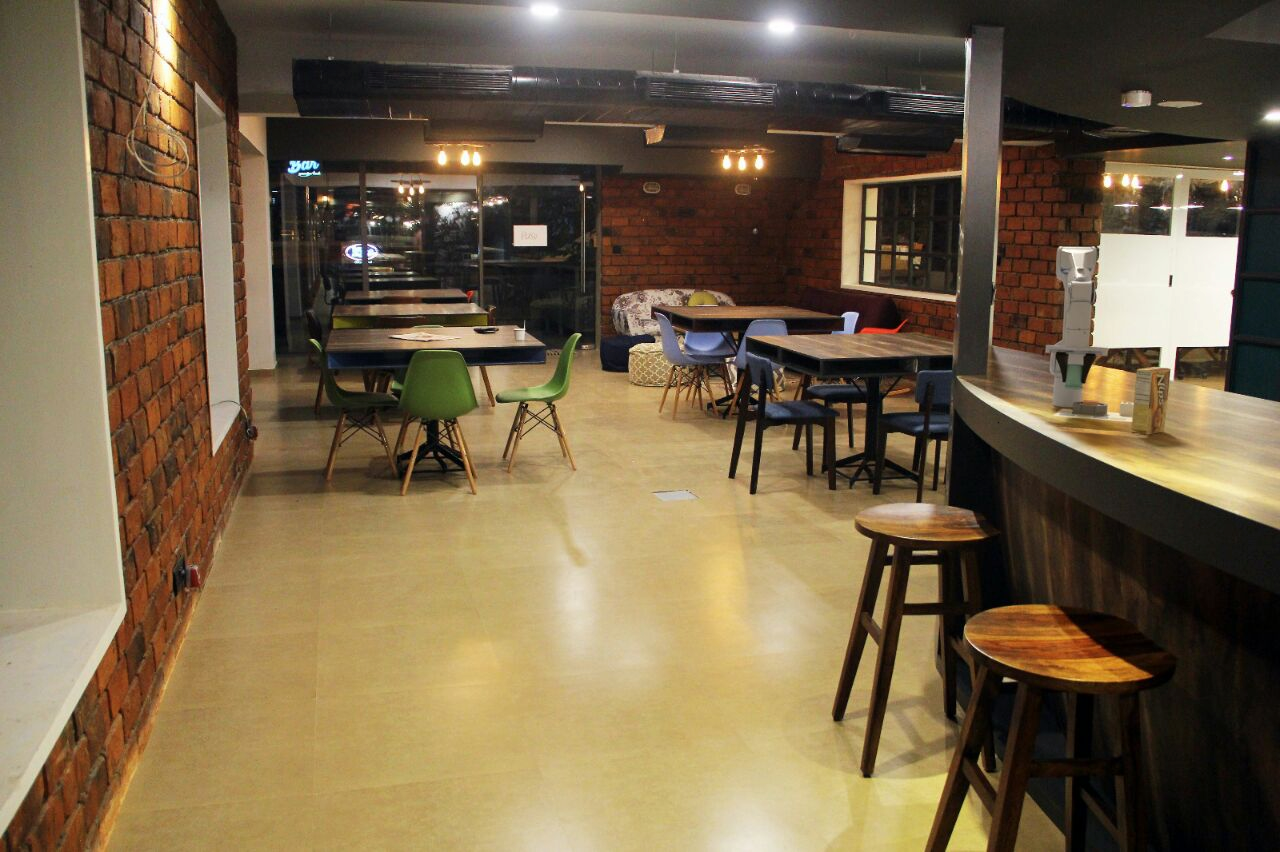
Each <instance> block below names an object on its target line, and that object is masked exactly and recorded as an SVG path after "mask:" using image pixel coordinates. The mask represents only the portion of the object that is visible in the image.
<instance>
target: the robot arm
mask: <svg viewBox="0 0 1280 852" xmlns="http://www.w3.org/2000/svg"><path fill="white" fill-rule="evenodd" d="M1097 253H1098V252H1097V247H1096V246H1093V245H1092V246H1062V245H1061V246H1058V248H1057V251H1056V257H1055V259H1056V260H1055V261H1056V263H1055V264H1056V265H1055V267H1056V268H1055V275H1056V279H1058V280H1059V281H1061V282H1062V284H1063V288H1064V300H1063V302H1064V303H1063V323H1062V324H1063V325H1062V339H1061V340H1060V341H1058V342H1057V343H1055V344H1046V345H1045V354H1050V359H1049V373H1050V374H1051V375H1053V377H1054V379H1053V389H1052V390H1053V392H1052V393H1053V394H1052V406H1055V407H1060V408H1073V403H1074V402H1082V397H1083V396H1082V394H1083V389H1080V390H1074V389H1065V388H1064V386H1065V382H1066V368H1067V364H1078V365H1083V375H1082V385H1083V384H1086V382H1087V378H1088V375H1089V372H1090V370H1091V367H1092V366H1093V364H1094V362H1095V360H1096V358H1097V356H1103V357H1108V352H1109V348H1108V347H1103V346H1102V347H1099V346H1090V335H1091V322H1092V310H1093V309H1092V308H1093V305H1094V302H1095V299H1096V283H1095V282H1096V281H1095V280H1092V279H1093V276H1094V274H1095V273H1094V272H1095V268H1096V264H1097V256H1098V255H1097Z"/></svg>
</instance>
